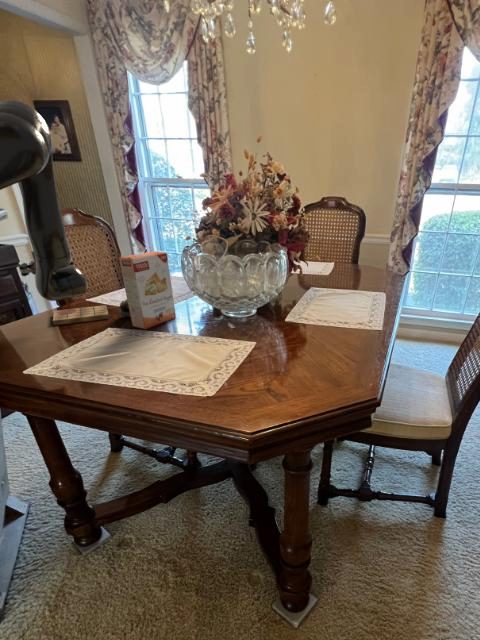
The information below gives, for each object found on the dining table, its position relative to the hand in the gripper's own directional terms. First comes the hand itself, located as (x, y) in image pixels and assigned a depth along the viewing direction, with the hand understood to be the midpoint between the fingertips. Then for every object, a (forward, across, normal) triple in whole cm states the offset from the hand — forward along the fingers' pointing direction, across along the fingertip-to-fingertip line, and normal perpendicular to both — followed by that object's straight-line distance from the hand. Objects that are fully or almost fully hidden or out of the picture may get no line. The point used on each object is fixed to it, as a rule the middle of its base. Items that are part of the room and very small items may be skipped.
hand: (44, 263), depth 114 cm
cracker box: (-19, -24, +18) cm, 36 cm away
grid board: (+1, -6, +18) cm, 19 cm away
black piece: (-3, 0, +6) cm, 7 cm away
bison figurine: (-10, -21, +18) cm, 30 cm away
